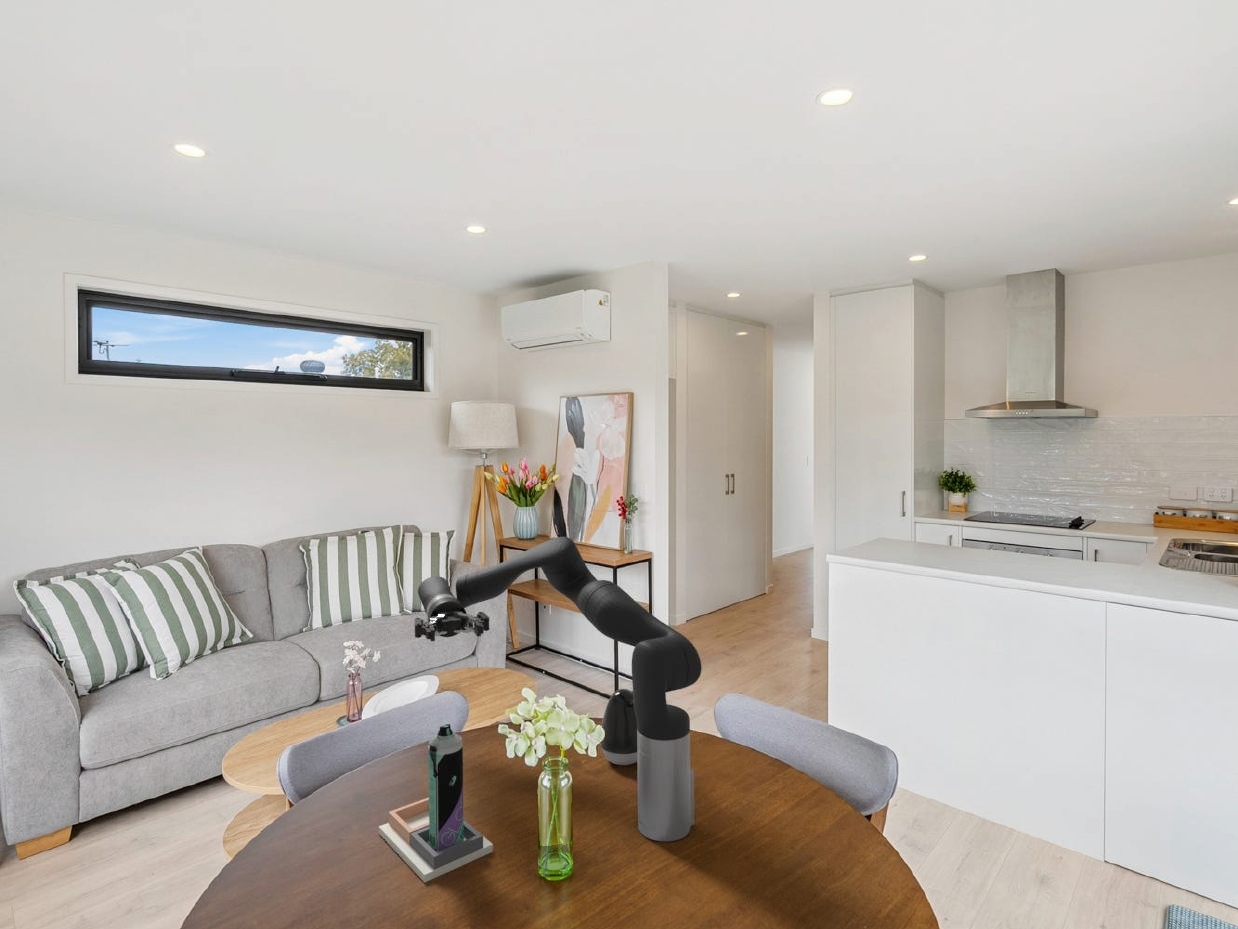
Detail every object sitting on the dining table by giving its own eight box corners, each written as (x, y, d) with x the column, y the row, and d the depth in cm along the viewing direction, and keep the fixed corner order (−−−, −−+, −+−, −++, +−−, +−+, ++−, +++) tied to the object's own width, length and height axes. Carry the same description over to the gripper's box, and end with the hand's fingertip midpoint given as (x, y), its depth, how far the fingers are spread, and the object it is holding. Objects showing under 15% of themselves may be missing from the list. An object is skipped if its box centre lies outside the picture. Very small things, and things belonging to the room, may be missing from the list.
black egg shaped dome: (614, 776, 136) (613, 701, 136) (591, 756, 145) (591, 686, 145) (657, 764, 141) (656, 692, 141) (632, 745, 150) (631, 678, 150)
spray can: (454, 858, 107) (453, 733, 106) (423, 854, 108) (421, 731, 107) (469, 838, 112) (467, 720, 112) (439, 835, 113) (437, 717, 113)
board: (442, 808, 124) (442, 791, 124) (493, 851, 110) (492, 832, 110) (378, 833, 116) (378, 815, 116) (424, 882, 102) (424, 862, 102)
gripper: (410, 599, 138) (416, 617, 123) (479, 594, 143) (494, 610, 128) (410, 635, 138) (417, 657, 123) (480, 628, 143) (494, 649, 128)
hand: (456, 633), depth 126 cm, fingers open, 8 cm apart
